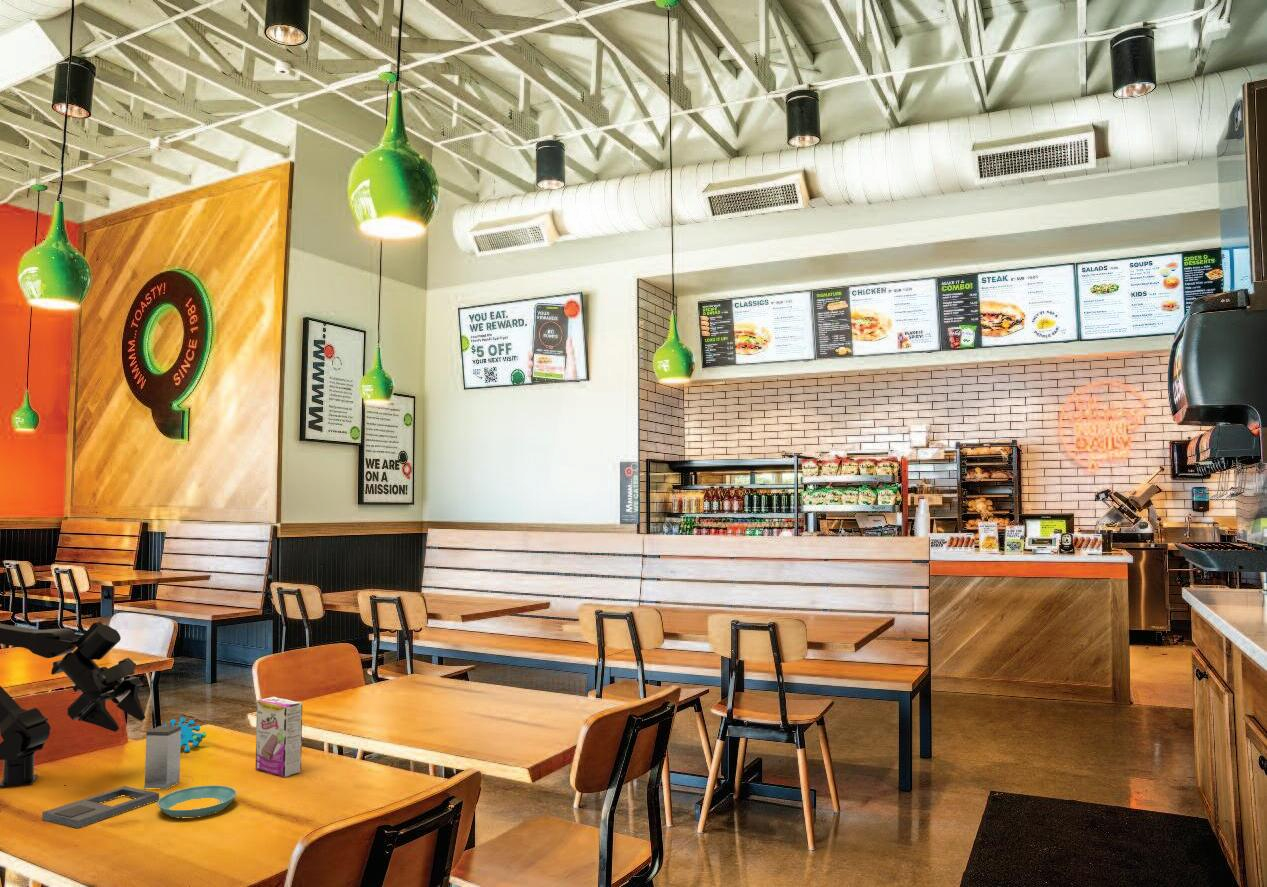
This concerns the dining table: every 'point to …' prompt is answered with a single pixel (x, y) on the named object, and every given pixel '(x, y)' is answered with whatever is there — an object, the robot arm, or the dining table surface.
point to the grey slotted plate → (97, 807)
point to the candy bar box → (279, 736)
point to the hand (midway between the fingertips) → (130, 724)
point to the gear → (189, 733)
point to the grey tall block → (162, 757)
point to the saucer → (198, 792)
